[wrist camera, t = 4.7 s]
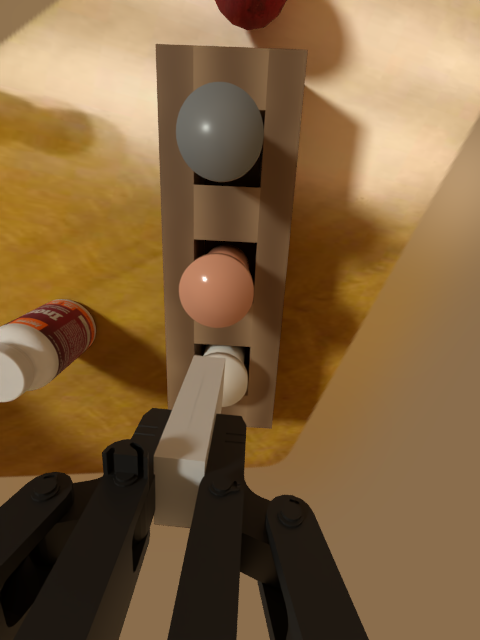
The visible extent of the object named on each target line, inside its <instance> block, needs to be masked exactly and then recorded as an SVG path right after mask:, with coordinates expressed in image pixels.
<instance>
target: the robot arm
mask: <svg viewBox="0 0 480 640" xmlns="http://www.w3.org/2000/svg"><path fill="white" fill-rule="evenodd" d="M225 360H226V358H217V357H207V356H197V355H194V357H193V359H192V362H191V364H190V367H189V369H188V372H187V374H186V377H185V379H184V382H183V384H182V387H181V389H180V392H179V394H178V397H177V399H176V402H175V404H174V407H173V409H172V410H168V409H158V408H152V409H151V410H150V411H148V412H147V413H146V414H145V415H143V417H142V419H141V421H140V423H139V425H138V427H137V429H136V431H135V433H134V434H133V436H132V438H131V439H126V440H121V441H117V442H114V443H113V444H111V445H109V446H108V447H107V448H106V449H105V450H104V451H103V452H102V458H103V471H104V475H103V477H100V478H98V479H94V480H90V481H84V482H78V483H73V482H72V480H71V478H70V476H68V475H66V474H65V473H60V472H52V473H46V474H43V475H41V476H38V477H36V478H34V479H33V480H31V481H30V482H28V483H27V484H26V485H25V486H24V487H22V488H21V489H20V490H19V491H18V492H17V493H16V494H14V495H13V496H12V497H11V498H10V499H9V500H8V501H7V502H6V503H4V504H3V505H2V506H1V507H0V640H119V636H120V633H121V630H122V627H123V624H124V621H125V617H126V614H127V611H128V608H129V604H130V601H131V598H132V595H133V592H134V588H135V585H136V582H137V579H138V575H139V572H140V569H141V566H142V563H143V560H144V556H145V553H146V550H147V547H148V544H149V537H150V525H151V522H152V519H153V516H154V524H157V525H167V526H176V527H185V528H190V533H189V538H188V542H187V548H186V552H185V557H184V562H183V566H182V571H181V576H180V581H179V586H178V591H177V596H176V601H175V605H174V610H173V615H172V620H171V625H170V630H169V634H168V639H167V640H236V636H237V635H236V634H237V617H238V615H237V614H238V596H239V578H240V572H242V573H244V574H246V575H248V576H250V577H252V578H254V579H256V580H258V586H259V591H260V595H261V600H262V605H263V609H264V614H265V618H266V623H267V627H268V632H269V637H270V640H369V639H368V637H367V634H366V632H365V630H364V627H363V625H362V623H361V621H360V618H359V616H358V614H357V611H356V609H355V607H354V605H353V602H352V600H351V598H350V595H349V594H348V591H347V589H346V586H345V584H344V582H343V579H342V577H341V575H340V572H339V570H338V568H337V566H336V563H335V561H334V559H333V557H332V554H331V552H330V549H329V547H328V545H327V543H326V540H325V538H324V536H323V534H322V531H321V529H320V527H319V524H318V522H317V520H316V517H315V515H314V513H313V511H312V510H311V508H310V507H309V505H308V504H307V503H305V502H304V501H303V500H302V499H300V498H297V497H295V496H293V495H281V496H278V497H275V498H274V499H273V500H272V501H269V500H267V499H264V498H262V497H260V496H258V495H256V494H255V493H254V492H252V491H251V490H250V489H249V488H248V486H247V485H246V482H245V480H244V463H245V443H246V423H245V421H244V420H243V418H242V416H237V415H227V414H221V410H222V400H223V386H224V373H225Z"/></svg>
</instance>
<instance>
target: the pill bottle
mask: <svg viewBox="0 0 480 640" xmlns="http://www.w3.org/2000/svg"><path fill="white" fill-rule="evenodd" d="M95 335H96V326H95V322H94V319H93V317H92V316H91V314H90V313H89V312H88V311H87V310H86V309H85V308H84V307H83V306H82V305H80V304H78V303H76V302H74V301H71V300H66V299H59V300H54V301H51V302H49V303H46V304H45V305H43V306H40V307H39V308H37V309H35V310H33V311H31V312H29V313H27V314H25V315H23V316H21V317H19V318H17V319H15V320H13V321H11V322H9V323H7V324H5V325H3V326H1V327H0V402H9V401H12V400H14V399H16V398H18V397H19V396H21V395H22V394H23V393H24V392H26V391H32V390H36V389H39V388H41V387H43V386H45V385H47V384H48V383H49V382H50V381H52V380H53V379H54V378H55V377H56V376H57V375H58V374H60V373H61V372H62V371H63V370H64V369H65V368H66V367H67V366H69V365H70V364H71V363H72V362H73V361H74V360H75V359H77V358H78V357H79V356H80V355H81V354H82V353H83V352H84V351H86V350H87V349H88V348H89V347H90V345H91V344H92V343H93V341H94V339H95Z"/></svg>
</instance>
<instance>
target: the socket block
mask: <svg viewBox="0 0 480 640" xmlns="http://www.w3.org/2000/svg"><path fill="white" fill-rule="evenodd" d="M307 51H308V50H296V49H270V48H244V47H218V46H192V45H166V44H156V69H157V98H158V127H159V156H160V185H161V215H162V244H163V273H164V302H165V331H166V361H167V390H168V410H172V409H173V407H174V404H175V402H176V399H177V397H178V394H179V392H180V389H181V387H182V384H183V382H184V379H185V377H186V374H187V372H188V369H189V367H190V364H191V362H192V359H193V357H194V355H197V356H203V353H204V344H211V345H228V346H245V347H250V354H249V365H244V366H245V368H246V370H247V374H248V385H247V390H246V393H245V394H244V396H243V397H242V398H241V400H239V401H238V402H237V403H235V404H233V405H231V406H227V407H222V410H221V414H227V415H237V416H242V418H243V420H244V421H245V423H246V427H257V428H272V419H273V408H274V398H275V387H276V377H277V366H278V356H279V345H280V335H281V324H282V314H283V303H284V293H285V282H286V272H287V261H288V251H289V240H290V230H291V219H292V209H293V198H294V188H295V177H296V167H297V156H298V146H299V135H300V125H301V114H302V104H303V93H304V83H305V72H306V62H307ZM212 82H227V83H230V84H233V85H236V86H238V87H240V88H241V89H243V90H244V91H245V92H246V93H248V94H249V95H250V97H251V98H252V99H253V100H254V102H255V103H256V105H257V107H258V109H259V111H260V114H261V117H262V121H263V128H264V137H263V145H262V159H261V175H260V188H253V187H232V186H212V185H205V178H203V177H201V176H200V175H198V174H197V173H195V172H194V171H193V170H192V169H191V168H190V167H189V166H188V165H187V163H186V162H185V161H184V159H183V157H182V155H181V153H180V151H179V147H178V144H177V139H176V123H177V118H178V114H179V111H180V109H181V107H182V105H183V103H184V101H185V100H186V99H187V97H188V96H189V95H190V94H191V93H192V92H193V91H195V90H196V89H197V88H199V87H201V86H203V85H205V84H208V83H212ZM204 240H217V241H236V242H255V243H256V256H255V272H254V297H253V302H252V305H251V308H250V309H249V311H248V313H247V314H246V315H245V316H244V317H243V318H242V319H241V320H240V321H239V322H237V323H235V324H233V325H231V326H228V327H223V328H212V327H207V326H204V325H202V324H200V323H198V322H196V321H195V320H193V319H192V318H191V317H190V316H189V315H188V314H187V312H186V311H185V310H184V308H183V306H182V304H181V301H180V297H179V284H180V280H181V277H182V275H183V273H184V271H185V270H186V269H187V267H188V266H189V265H190V264H191V263H192V262H193V261H194V260H196V259H197V258H199V257H201V256H203V255H204Z"/></svg>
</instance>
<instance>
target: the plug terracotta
mask: <svg viewBox="0 0 480 640" xmlns="http://www.w3.org/2000/svg"><path fill="white" fill-rule="evenodd" d="M179 297H180V301H181V304H182V306H183V308H184V310H185V311H186V312H187V314H188V315H189V316H190V317H191V318H192V319H193V320H195V321H196V322H198V323H200V324H202V325H204V326H207V327H212V328H223V327H228V326H231V325H233V324H235V323H237V322H239V321H240V320H241V319H242V318H243V317H244V316H245V315H246V314H247V313H248V311H249V309H250V308H251V305H252V302H253V297H254V285H253V280H252V276H251V274H250V272H249V261H248V259H247V257H246V255H245V254H244V252H243V251H242V250H241V249H239V248H238V247H236V246H233V245H229V244H223V245H219V246H216V247H214V248H213V249H211V250H210V251H209V252H208V253H207V254H205V255H203V256H201V257H199V258H197V259H196V260H194V261H193V262H192V263H191V264H190V265H189V266H188V267H187V269H186V270H185V271H184V273H183V275H182V277H181V280H180V284H179Z"/></svg>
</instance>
